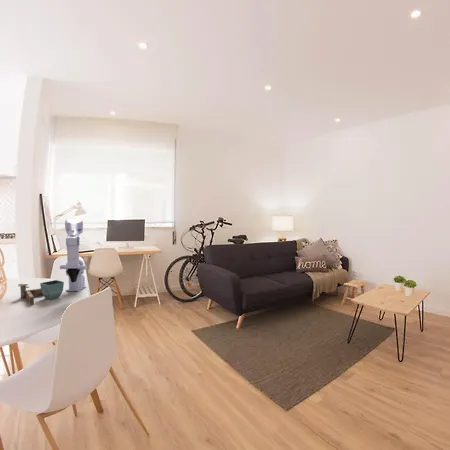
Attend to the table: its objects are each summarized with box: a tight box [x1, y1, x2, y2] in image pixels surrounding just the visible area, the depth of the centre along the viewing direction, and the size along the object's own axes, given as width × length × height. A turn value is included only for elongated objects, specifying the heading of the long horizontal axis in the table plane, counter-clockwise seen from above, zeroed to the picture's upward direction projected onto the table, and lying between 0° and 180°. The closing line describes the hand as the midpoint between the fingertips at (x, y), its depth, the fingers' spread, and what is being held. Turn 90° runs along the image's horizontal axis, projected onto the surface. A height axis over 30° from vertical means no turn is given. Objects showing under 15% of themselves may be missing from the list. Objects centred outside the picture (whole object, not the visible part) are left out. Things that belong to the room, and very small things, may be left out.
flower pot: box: [39, 279, 65, 300], centre depth 153 cm, size 9×9×9 cm
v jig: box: [17, 282, 43, 306], centre depth 153 cm, size 23×16×8 cm
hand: (73, 281), depth 152 cm, fingers closed
